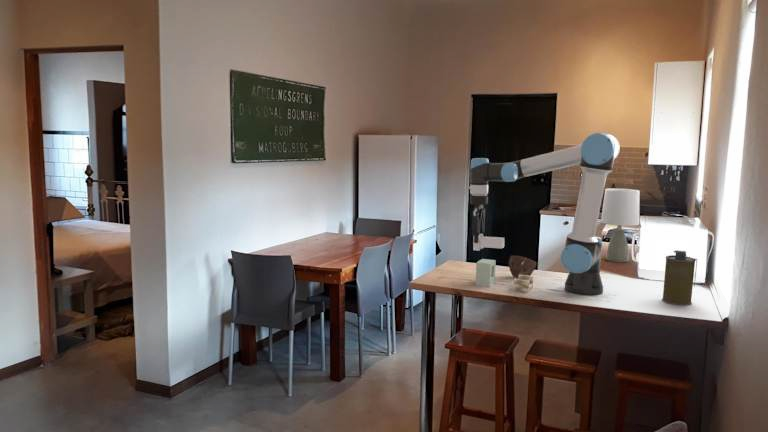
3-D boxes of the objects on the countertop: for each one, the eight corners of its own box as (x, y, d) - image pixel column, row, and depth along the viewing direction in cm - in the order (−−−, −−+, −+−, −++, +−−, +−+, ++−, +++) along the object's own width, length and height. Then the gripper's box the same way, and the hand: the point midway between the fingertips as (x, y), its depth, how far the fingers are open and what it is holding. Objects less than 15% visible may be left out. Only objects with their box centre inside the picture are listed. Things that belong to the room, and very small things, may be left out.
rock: (534, 265, 271) (541, 256, 263) (531, 285, 267) (537, 277, 258) (508, 257, 272) (513, 249, 263) (503, 277, 268) (509, 269, 259)
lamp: (592, 260, 310) (597, 189, 306) (605, 255, 325) (610, 187, 320) (629, 265, 299) (635, 192, 294) (641, 260, 313) (646, 190, 308)
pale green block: (494, 282, 257) (495, 260, 256) (489, 286, 249) (490, 264, 248) (481, 280, 259) (482, 258, 258) (475, 285, 251) (476, 262, 250)
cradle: (532, 286, 251) (533, 276, 251) (528, 292, 242) (528, 281, 241) (518, 284, 254) (519, 274, 253) (513, 290, 244) (513, 279, 243)
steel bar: (504, 247, 251) (504, 237, 251) (502, 248, 247) (502, 239, 247) (476, 245, 256) (476, 236, 255) (474, 246, 252) (474, 237, 252)
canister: (659, 302, 231) (664, 251, 228) (664, 296, 240) (668, 247, 237) (691, 307, 225) (695, 255, 222) (694, 301, 234) (699, 251, 231)
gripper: (475, 193, 260) (474, 245, 263) (464, 196, 245) (463, 252, 247) (492, 193, 257) (491, 246, 260) (482, 196, 242) (481, 253, 244)
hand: (478, 249), depth 254 cm, fingers closed on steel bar, 4 cm apart
